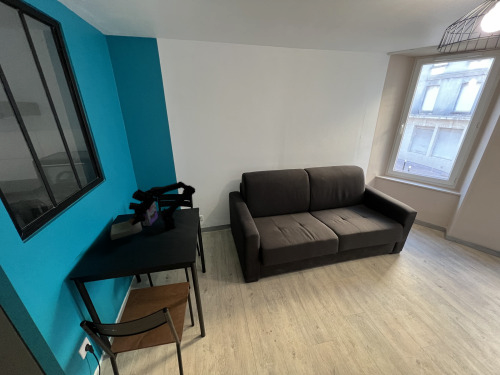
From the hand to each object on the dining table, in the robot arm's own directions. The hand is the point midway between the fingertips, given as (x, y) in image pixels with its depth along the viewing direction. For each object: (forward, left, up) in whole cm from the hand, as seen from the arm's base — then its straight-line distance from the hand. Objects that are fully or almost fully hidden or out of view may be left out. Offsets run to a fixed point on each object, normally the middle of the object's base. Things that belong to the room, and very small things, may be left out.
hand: (132, 222), depth 127 cm
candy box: (-10, -20, -13) cm, 26 cm away
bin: (+8, -15, -13) cm, 21 cm away
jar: (-1, 0, -7) cm, 7 cm away
